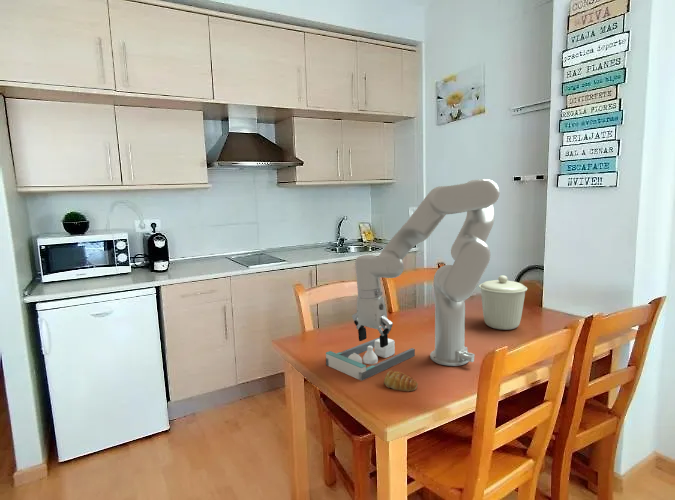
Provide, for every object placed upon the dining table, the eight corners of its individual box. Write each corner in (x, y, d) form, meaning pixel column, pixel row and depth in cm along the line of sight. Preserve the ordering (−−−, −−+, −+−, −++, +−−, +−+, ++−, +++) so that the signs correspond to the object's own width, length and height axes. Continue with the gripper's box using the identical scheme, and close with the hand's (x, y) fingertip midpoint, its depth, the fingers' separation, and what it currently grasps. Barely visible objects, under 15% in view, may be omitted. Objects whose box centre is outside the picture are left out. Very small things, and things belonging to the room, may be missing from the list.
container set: (383, 351, 146) (383, 336, 145) (395, 355, 142) (394, 340, 142) (343, 369, 133) (342, 352, 132) (354, 374, 129) (354, 357, 128)
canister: (536, 329, 163) (538, 277, 160) (500, 336, 157) (501, 282, 154) (502, 316, 180) (503, 269, 177) (469, 322, 173) (469, 273, 170)
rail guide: (414, 355, 141) (414, 343, 140) (361, 380, 124) (361, 367, 123) (379, 343, 153) (378, 332, 152) (326, 365, 136) (325, 352, 135)
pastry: (421, 385, 120) (421, 373, 119) (412, 395, 114) (412, 382, 114) (391, 378, 125) (391, 366, 124) (381, 387, 119) (381, 375, 119)
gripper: (397, 293, 130) (400, 345, 133) (358, 287, 143) (362, 334, 146) (381, 299, 125) (385, 352, 128) (343, 292, 138) (347, 340, 141)
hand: (373, 342), depth 137 cm, fingers open, 9 cm apart
